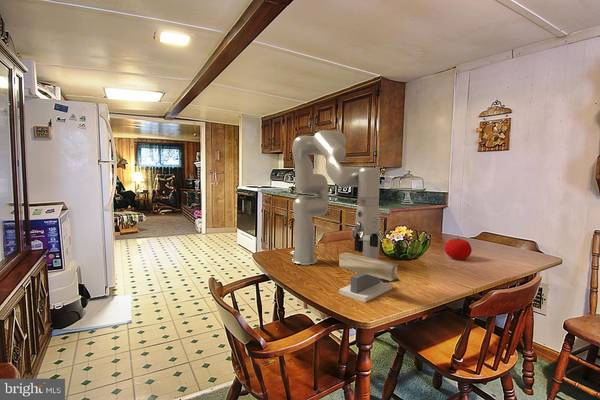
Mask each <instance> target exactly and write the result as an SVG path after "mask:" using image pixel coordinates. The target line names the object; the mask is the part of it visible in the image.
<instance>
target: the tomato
mask: <svg viewBox="0 0 600 400" xmlns="http://www.w3.org/2000/svg"><path fill="white" fill-rule="evenodd" d="M471 246H472V245H471V243H470V242H468V241H467V240H465V239H461V238H459V237H458V238H451V239H448V240H447V241H446V243H445V244H444V252H445V254H446V255H447V256H448V257H449V258H452V259H454V260H466V259H468V258H469V257H470V256H471V254H472V249H473V248H472V247H471Z"/></svg>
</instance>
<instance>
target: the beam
mask: <svg viewBox="0 0 600 400" xmlns="http://www.w3.org/2000/svg"><path fill="white" fill-rule="evenodd" d="M338 258H339V259H338V260H339V261H338V265H339V266H338V267H339V268H341V269H345V270H347V271H348V270H349V271H353V272H356V273H363V274H367V275H371V276H374V277H378V278H382V279H386V280H389V281H390V282H391V281H392V280H394V279H396V278H398V263H394V262H389V261H385V260H380V259H378V260H377V259H373V258H368V257H364V256H362V255H360V254H359V255H358V254H354V253H350V252H343V253H340V254H338Z"/></svg>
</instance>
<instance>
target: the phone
mask: <svg viewBox="0 0 600 400" xmlns="http://www.w3.org/2000/svg"><path fill="white" fill-rule="evenodd" d="M399 280H400V279H399V277H397V278H396V279H394V280H392V281H389V280H386V279H382V278H381V282H384V283H395V282H399Z"/></svg>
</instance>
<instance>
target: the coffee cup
mask: <svg viewBox="0 0 600 400" xmlns="http://www.w3.org/2000/svg"><path fill="white" fill-rule="evenodd" d="M371 236H372V235H371ZM377 237H378V247H372V246H370V235H364V237H363V239H362V241H363V252H361V256H364V257H368V258H373V259H377V260H379V257H380V256H379V254H380V246H381V240H382V237H381V234H380V233H379V236H377Z"/></svg>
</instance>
